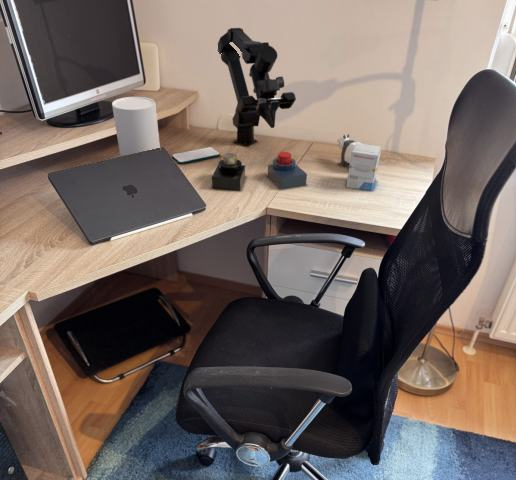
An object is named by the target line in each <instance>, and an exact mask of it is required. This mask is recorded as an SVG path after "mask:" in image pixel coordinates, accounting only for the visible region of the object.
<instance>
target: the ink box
mask: <svg viewBox="0 0 516 480" xmlns="http://www.w3.org/2000/svg"><path fill="white" fill-rule="evenodd" d="M360 143H361V142H359V143H356V145H355V146H354V148H353V150H352V152H351V158H350V164H349V166H348V174H347V180H346V185H345V186H346V188H352V189H357V190H358V189H359V190H364V191H370V192H371V191H373V189H374V187H375V183H376V181H377V174H378V169H379V164H380V158H381V152H382V146H380V145H372V144H365V143H362V144H360Z"/></svg>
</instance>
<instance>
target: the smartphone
mask: <svg viewBox="0 0 516 480" xmlns="http://www.w3.org/2000/svg"><path fill="white" fill-rule="evenodd" d="M219 157H221V152H219V151H218V150H216V148H214V147H212V146H210V147H209V146H208V147H202V148H198V149H193V150H187V151H183V152H182V151H181V152H178V153H173V154H171V158H172V159H173V160H174V161H175V162H176V163H177V164H179V165H186V164H190V163H193V162H199V161H204V160H209V159H214V158H219Z"/></svg>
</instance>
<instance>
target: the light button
mask: <svg viewBox="0 0 516 480" xmlns="http://www.w3.org/2000/svg"><path fill="white" fill-rule="evenodd" d="M222 160H223V163H224V165H226V166H235V165H237V160H238V154H236V153H233V152H227V153H224V154H223V157H222Z"/></svg>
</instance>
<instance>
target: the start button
mask: <svg viewBox="0 0 516 480" xmlns="http://www.w3.org/2000/svg"><path fill="white" fill-rule="evenodd" d="M277 158H278V163H279V164H284V165H287V164H290V163H291V159H292V153H291V152H289V151H279V152H278V153H277Z"/></svg>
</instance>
